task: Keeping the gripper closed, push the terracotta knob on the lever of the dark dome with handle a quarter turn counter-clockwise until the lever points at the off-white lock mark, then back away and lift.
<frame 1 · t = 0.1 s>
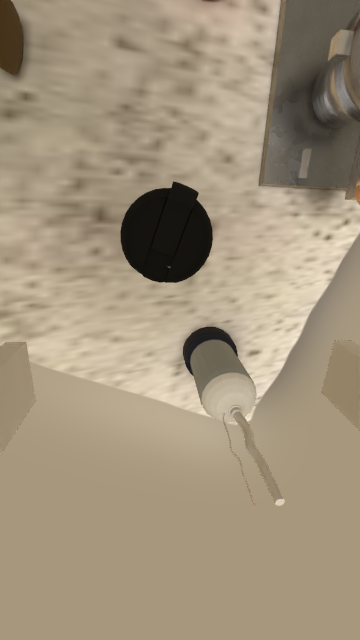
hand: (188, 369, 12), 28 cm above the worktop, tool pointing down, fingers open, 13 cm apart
mount plate: (332, 98, 33), on the worktop
travel mug: (159, 229, 36), on the worktop
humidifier: (208, 349, 43), on the worktop
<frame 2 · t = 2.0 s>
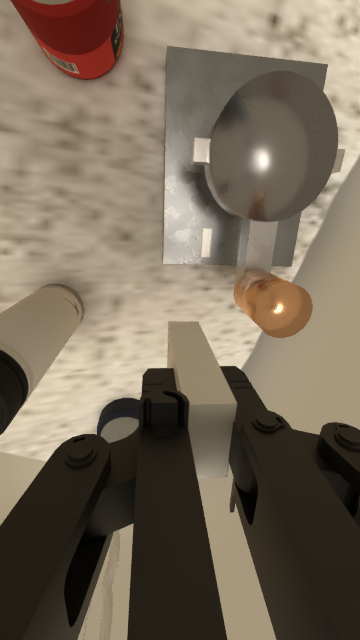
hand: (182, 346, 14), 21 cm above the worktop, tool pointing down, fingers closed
dark dome with handle: (274, 208, 21), point 12 cm above the worktop, hinge at 0.0°
canned food: (81, 33, 25), on the worktop
mount plate: (234, 174, 31), on the worktop
travel mug: (59, 306, 34), on the worktop
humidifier: (127, 419, 41), on the worktop
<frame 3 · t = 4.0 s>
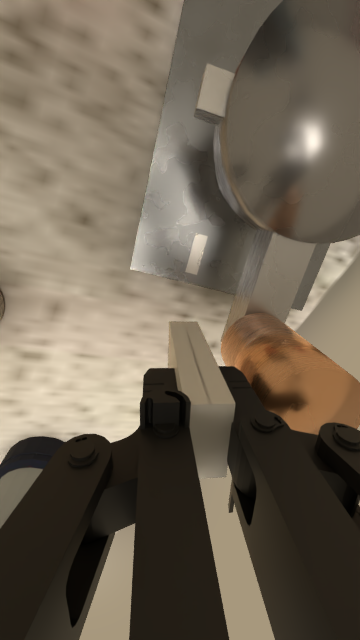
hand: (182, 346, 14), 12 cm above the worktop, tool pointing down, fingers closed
dark dome with handle: (321, 219, 12), point 12 cm above the worktop, hinge at 0.7°, touching gripper
mount plate: (253, 169, 22), on the worktop
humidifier: (45, 463, 30), on the worktop
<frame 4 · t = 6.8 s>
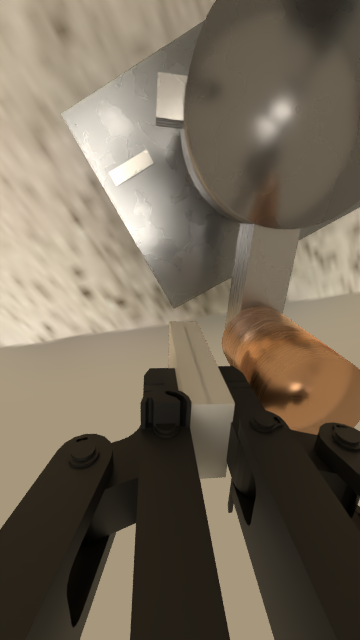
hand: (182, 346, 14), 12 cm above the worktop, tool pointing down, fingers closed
dark dome with handle: (298, 205, 11), point 12 cm above the worktop, hinge at 57.2°, touching gripper
mount plate: (233, 160, 22), on the worktop
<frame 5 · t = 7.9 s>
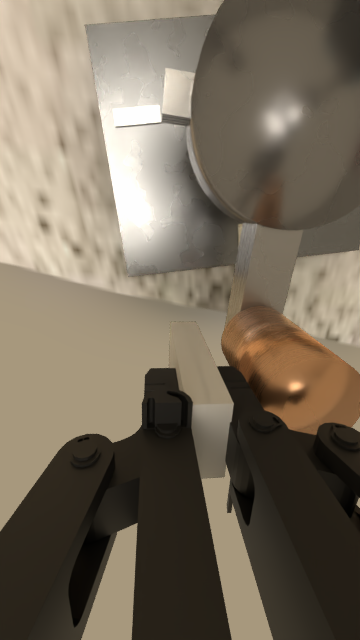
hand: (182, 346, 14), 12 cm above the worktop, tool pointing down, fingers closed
dark dome with handle: (302, 206, 11), point 12 cm above the worktop, hinge at 78.1°, touching gripper
mount plate: (238, 159, 21), on the worktop
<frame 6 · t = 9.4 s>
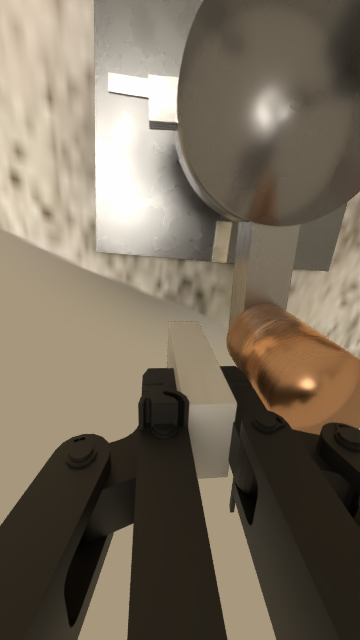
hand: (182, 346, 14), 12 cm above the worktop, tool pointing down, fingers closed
dark dome with handle: (297, 201, 11), point 12 cm above the worktop, hinge at 94.0°
mount plate: (228, 157, 21), on the worktop
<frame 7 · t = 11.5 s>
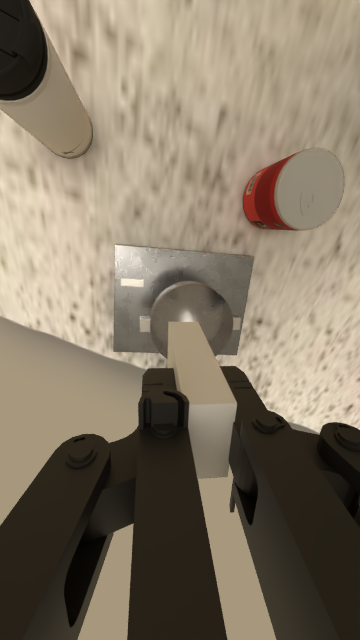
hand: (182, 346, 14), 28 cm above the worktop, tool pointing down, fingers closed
dark dome with handle: (193, 362, 32), point 12 cm above the worktop, hinge at 94.0°
canned food: (266, 199, 39), on the worktop
mount plate: (180, 302, 42), on the worktop
travel mug: (68, 130, 33), on the worktop
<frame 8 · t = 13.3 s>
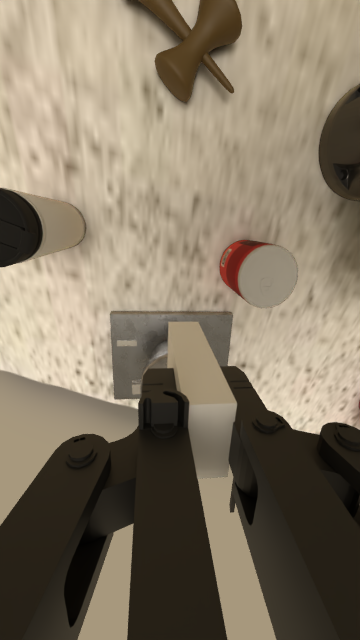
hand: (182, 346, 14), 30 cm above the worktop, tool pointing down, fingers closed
dark dome with handle: (178, 419, 38), point 12 cm above the worktop, hinge at 94.0°
canned food: (240, 265, 44), on the worktop
mount plate: (171, 354, 48), on the worktop
travel mug: (65, 225, 39), on the worktop
kendama: (171, 35, 33), on the worktop
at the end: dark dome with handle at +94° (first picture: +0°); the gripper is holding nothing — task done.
